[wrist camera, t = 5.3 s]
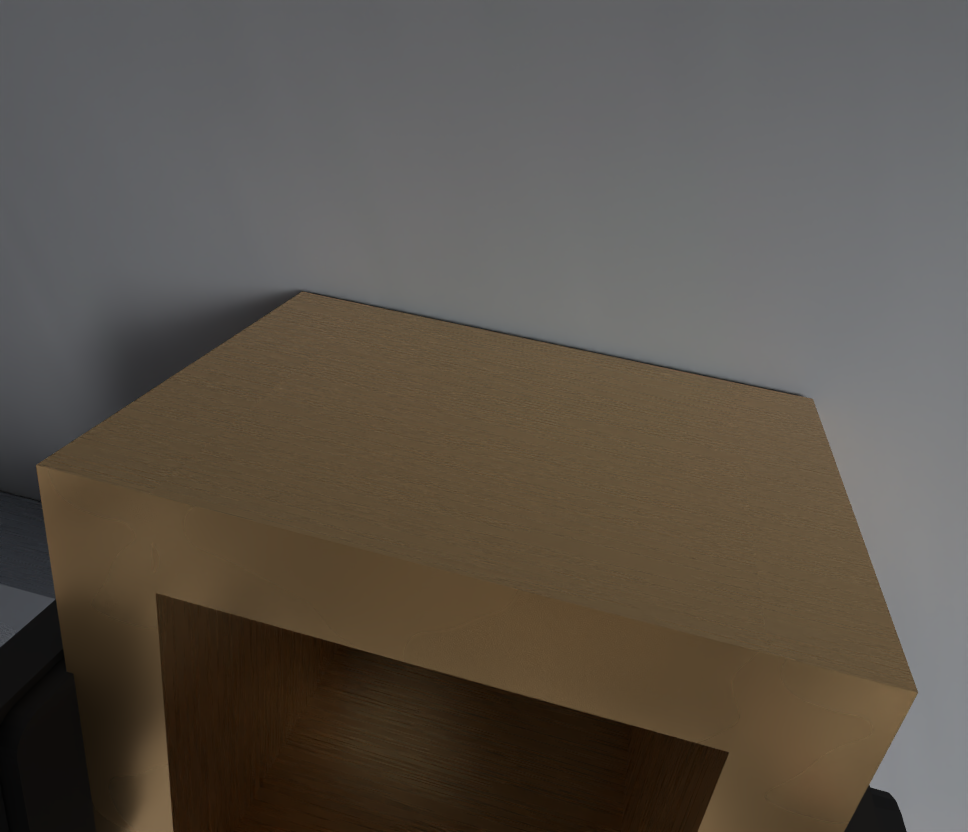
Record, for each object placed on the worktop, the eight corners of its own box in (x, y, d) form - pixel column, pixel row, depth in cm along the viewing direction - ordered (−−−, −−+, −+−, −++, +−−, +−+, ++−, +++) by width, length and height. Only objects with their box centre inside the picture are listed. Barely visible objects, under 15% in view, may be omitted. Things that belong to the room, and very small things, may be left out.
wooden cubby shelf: (813, 399, 10) (917, 692, 5) (678, 769, 13) (674, 1149, 8) (302, 291, 11) (35, 464, 6) (291, 659, 14) (107, 947, 9)
